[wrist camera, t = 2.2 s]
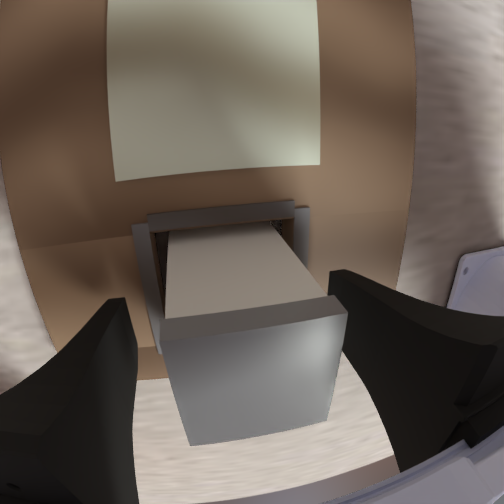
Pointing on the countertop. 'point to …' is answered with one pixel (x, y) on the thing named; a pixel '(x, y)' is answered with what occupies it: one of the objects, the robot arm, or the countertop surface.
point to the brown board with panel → (200, 140)
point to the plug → (246, 334)
